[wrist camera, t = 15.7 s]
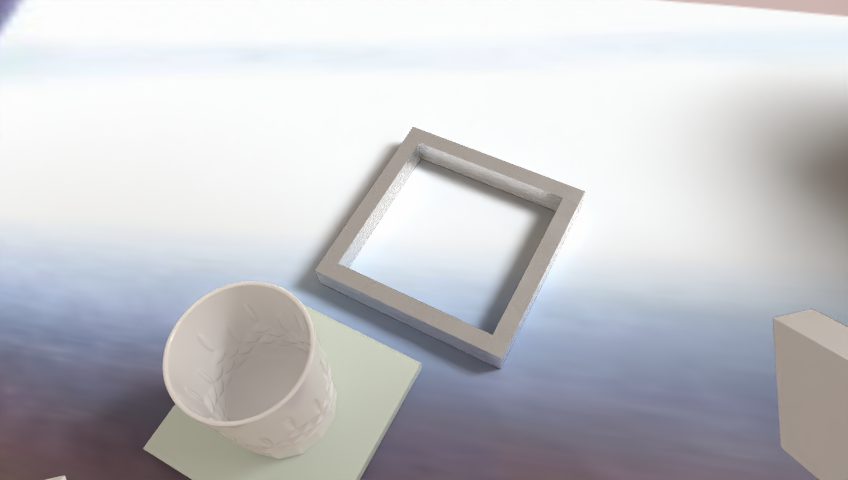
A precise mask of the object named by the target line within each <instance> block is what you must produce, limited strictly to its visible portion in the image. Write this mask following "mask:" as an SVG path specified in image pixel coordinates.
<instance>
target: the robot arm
mask: <svg viewBox="0 0 848 480" xmlns="http://www.w3.org/2000/svg"><path fill="white" fill-rule="evenodd" d="M773 329H774V345H775V361H776V376H777V392H778V408H779V424H780V440H781V448H783V449H784V450H785V451H786V452H787V453H788V454H790V455H791V456H792V457H793V458H794V459H795V460H797V461H798V462H799V463H800V464H801V465H802V466H803V467H805V468H806V469H807V470H808V471H809V472H810V473H812V474H813V475H814V476H815V477H816V478H817V479H819V480H848V327H847V326H845V325H843V324H841V323H839V322H837V321H835V320H833V319H831V318H829V317H827V316H825V315H823V314H821V313H819V312H817V311H815V310H813V309H809V310H805V311H800V312H796V313H791V314H787V315H782V316H778V317H773ZM46 480H66V477H65V475H64V476H59V477H55V478H50V479H46Z"/></svg>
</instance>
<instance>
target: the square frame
mask: <svg viewBox="0 0 848 480" xmlns="http://www.w3.org/2000/svg"><path fill="white" fill-rule="evenodd" d="M420 159H424V160H426V161H429V162H431V163H434V164H437V165H439V166H442V167H444V168H447V169H449V170H452V171H454V172H457V173H460V174H462V175H465V176H467V177H470V178H472V179H475V180H478V181H480V182H483V183H485V184H488V185H490V186H493V187H495V188H498V189H501V190H503V191H506V192H508V193H511V194H513V195H516V196H518V197H521V198H524V199H526V200H529V201H531V202H534V203H536V204H539V205H542V206H544V207H547V208H549V209H552V210H554V211H556V213H555V215H554V217H553V219H552V221H551V223H550V225H549V226H548V228H547V230H546V232H545V234H544V236H543V238H542V240H541V242H540V244H539V246H538V248H537V250H536V252H535V254H534V256H533V257H532V259H531V261H530V263H529V265H528V267H527V269H526V271H525V273H524V275H523V277H522V279H521V281H520V283H519V285H518V287H517V289H516V290H515V292H514V294H513V296H512V298H511V300H510V302H509V304H508V306H507V308H506V310H505V312H504V314H503V316H502V318H501V320H500V321H499V323H498V325H497V327H496V329H495V331H494V333H493V335H491V334H489V333H487V332H485V331H483V330H481V329H478V328H476V327H474V326H472V325H470V324H468V323H466V322H463V321H461V320H459V319H457V318H455V317H453V316H450V315H448V314H446V313H444V312H442V311H440V310H437V309H435V308H433V307H431V306H429V305H427V304H425V303H422V302H420V301H418V300H416V299H414V298H412V297H409V296H407V295H405V294H403V293H401V292H399V291H397V290H394V289H392V288H390V287H388V286H386V285H384V284H381V283H379V282H377V281H375V280H373V279H371V278H368V277H366V276H364V275H362V274H360V273H358V272H356V271H353V270H351V269H349V266H350V265H351V263H352V262H353V260H354V259H355V257H356V256H357V254H358V253H359V251H360V250H361V248H362V247H363V245H364V244H365V242H366V241H367V239H368V238H369V236H370V235H371V233H372V232H373V230H374V229H375V227H376V226H377V224H378V223H379V221H380V220H381V218H382V217H383V215H384V214H385V212H386V211H387V209H388V208H389V206H390V204H391V203H392V201H393V200H394V198H395V197H396V195H397V194H398V192H399V191H400V189H401V188H402V186H403V185H404V183H405V182H406V180H407V179H408V177H409V176H410V174H411V173H412V171H413V170H414V168H415V167H416V165H417V164H418V162H419V161H420ZM584 193H585V191H582V190H580V189H577V188H574V187H572V186H569V185H566V184H564V183H561V182H558V181H556V180H553V179H550V178H548V177H545V176H542V175H540V174H537V173H534V172H532V171H529V170H526V169H524V168H521V167H518V166H516V165H513V164H510V163H508V162H505V161H502V160H500V159H497V158H495V157H492V156H489V155H487V154H484V153H481V152H479V151H476V150H473V149H471V148H468V147H465V146H463V145H460V144H457V143H455V142H452V141H449V140H447V139H444V138H441V137H439V136H436V135H433V134H431V133H428V132H425V131H423V130H420V129H417V128H415V127H413V128H412V129H411V131H410V132H409V134H408V135H407V137H406V138H405V140H404V141H403V142H402V144H401V145H400V147H399V148H398V150H397V151H396V153H395V154H394V156H393V157H392V158H391V160H390V161H389V163H388V164H387V166H386V167H385V169H384V170H383V172H382V173H381V174H380V176H379V177H378V179H377V180H376V182H375V183H374V185H373V186H372V188H371V189H370V190H369V192H368V193H367V195H366V196H365V198H364V199H363V201H362V202H361V203H360V205H359V206H358V208H357V209H356V211H355V212H354V214H353V215H352V217H351V218H350V219H349V221H348V222H347V224H346V225H345V227H344V228H343V230H342V231H341V233H340V234H339V235H338V237H337V238H336V240H335V241H334V243H333V244H332V246H331V247H330V249H329V250H328V251H327V253H326V254H325V256H324V257H323V259H322V260H321V262H320V263H319V265H318V266H317V267H316V269H315V272H316V274H317V277H318V279H319V281H320V283H321V284H323V285H326V286H328V287H330V288H332V289H334V290H336V291H338V292H340V293H342V294H344V295H346V296H349V297H351V298H353V299H355V300H357V301H359V302H361V303H363V304H365V305H367V306H369V307H371V308H374V309H376V310H378V311H380V312H382V313H384V314H386V315H388V316H390V317H392V318H394V319H397V320H399V321H401V322H403V323H405V324H407V325H409V326H411V327H413V328H415V329H417V330H420V331H422V332H424V333H426V334H428V335H430V336H432V337H434V338H436V339H438V340H440V341H442V342H445V343H447V344H449V345H451V346H453V347H455V348H457V349H459V350H461V351H463V352H465V353H468V354H470V355H472V356H474V357H476V358H478V359H480V360H482V361H484V362H486V363H488V364H491V365H493V366H495V367H497V368H499V369H501V367H502V365H503V363H504V361H505V359H506V357H507V355H508V353H509V351H510V349H511V347H512V345H513V343H514V341H515V339H516V337H517V335H518V333H519V331H520V329H521V327H522V325H523V323H524V321H525V319H526V317H527V315H528V313H529V311H530V309H531V307H532V305H533V303H534V301H535V299H536V297H537V295H538V293H539V291H540V289H541V287H542V285H543V282H544V280H545V278H546V276H547V274H548V272H549V270H550V268H551V266H552V264H553V262H554V260H555V258H556V256H557V254H558V252H559V250H560V248H561V246H562V244H563V242H564V240H565V238H566V236H567V234H568V232H569V230H570V228H571V226H572V224H573V222H574V220H575V218H576V216H577V214H578V212H579V210H580V208H581V205H582V201H583V197H584Z"/></svg>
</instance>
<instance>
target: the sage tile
mask: <svg viewBox="0 0 848 480" xmlns="http://www.w3.org/2000/svg"><path fill="white" fill-rule="evenodd" d="M304 307H305V308H306V310H307V311H308V313H309V315H310V318H311V320H312V323H313V325H314V328H315V330H316V333H317V335H318V338H319V340H320V343H321V345H322V348H323V350H324V353H325V355H326V357H327V360H328V364H329V367H330V369H331V374H332V380H333V383H334V386H335V388H336V391H337V404H336V415H335V419H334V420H333V422H332V424H331V425H330V427H329V429H328V431H327V432H326V434H325V436H324V438H323V439H322V440H321V441H319V442H318V443H317V444H315V445H314V446H313V447H311V448H310V449H308V450H307V451H306V452H304V453H303V454H300V455H296V456H291V457H286V458H282V459H275V458H271V457H267V456H264V455H260V454H256V453H254V452H252V451H251V450H249V449H246V448H244V447H242V446H240V445H238V444H236V443H234V442H233V441H230V440H228V439H226V438H225V437H223V436H221V435H220V434H218V433H216V432H215V431H213V430H211V429H210V428H208V427H206V426H205V425H203V424H202V423H200V422H198V421H196V420H195V419H193V418H191V417H190V416H188V415H187V414H185V413H184V412H183V411H182V410H181V409H180V408H179V407H178V406H177V405H176V404H175V405H174V406H173V408H172V409H171V411H170V412H169V413H168V415H167V416H166V417H165V419H164V420H163V422H162V423H161V424H160V426H159V427H158V429H157V430H156V431H155V433H154V434H153V435H152V437H151V438H150V440H149V441H148V442H147V444H146V445H145V447H144V448H143V449H144V450H146V451H147V452H149V453H150V454H152V455H154V456H155V457H157V458H158V459H160V460H162V461H163V462H165V463H166V464H168V465H170V466H171V467H173V468H174V469H176V470H178V471H179V472H181V473H182V474H184V475H185V476H187V477H189V478H190V479H192V480H360V479H361V477H362V475H363V473H364V471H365V470H366V468H367V466H368V464H369V462H370V461H371V459H372V457H373V455H374V453H375V452H376V450H377V448H378V446H379V444H380V443H381V441H382V439H383V437H384V435H385V434H386V432H387V430H388V428H389V426H390V425H391V423H392V421H393V419H394V417H395V416H396V414H397V412H398V410H399V408H400V407H401V405H402V403H403V401H404V400H405V398H406V396H407V394H408V392H409V391H410V389H411V387H412V385H413V383H414V382H415V380H416V378H417V376H418V374H419V373H420V371H421V369H422V365H421V363H420V362H418V361H416V360H414V359H412V358H410V357H408V356H406V355H404V354H402V353H400V352H398V351H396V350H394V349H392V348H390V347H388V346H386V345H384V344H382V343H380V342H378V341H376V340H374V339H372V338H370V337H368V336H366V335H364V334H362V333H360V332H358V331H356V330H354V329H352V328H350V327H348V326H346V325H344V324H342V323H340V322H338V321H335V320H333V319H331V318H329V317H327V316H325V315H323V314H321V313H319V312H317V311H315V310H313V309H311V308H309V307H307V306H305V305H304Z"/></svg>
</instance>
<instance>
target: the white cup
mask: <svg viewBox="0 0 848 480" xmlns="http://www.w3.org/2000/svg"><path fill="white" fill-rule="evenodd" d="M163 377H164V382H165V385H166V388H167V391H168V393H169V395H170V397H171V398H172V400H173V401H174V403H175V404H176V405H177V406H178V407H179V408H180V409H181V410H182V411H183V412H184V413H185V414H187V415H188V416H190V417H191V418H193V419H195V420H196V421H198V422H200V423H202V424H203V425H205V426H206V427H208V428H210V429H211V430H213V431H215V432H216V433H218V434H220V435H221V436H223V437H225V438H226V439H228V440H230V441H233V442H234V443H236V444H238V445H240V446H242V447H244V448H246V449H249V450H251V451H252V452H254V453H256V454H260V455H264V456H267V457H271V458H275V459H282V458H286V457H291V456H296V455H300V454H303V453H304V452H306V451H307V450H308V449H310V448H311V447H313V446H314V445H315V444H317V443H318V442H319V441H321V440H322V439H323V438H324V436H325V434H326V432H327V431H328V429H329V427H330V425H331V424H332V422H333V420H334V419H335V415H336V404H337V391H336V388H335V386H334V383H333V380H332V374H331V369H330V367H329V364H328V360H327V357H326V355H325V353H324V350H323V348H322V345H321V343H320V340H319V338H318V335H317V333H316V330H315V328H314V325H313V323H312V320H311V318H310V315H309V313H308V311H307V310H306V308H305V307H304V305H303V304H302V303H301V302H300V301H299V300H298V299H297V298H296V297H295V296H294V295H293V294H292V293H290V292H289V291H287V290H285V289H284V288H282V287H279V286H277V285H274V284H271V283H267V282H260V281H243V282H236V283H232V284H228V285H225V286H222V287H219V288H217V289H215V290H213V291H211V292H209V293H207V294H206V295H204V296H203V297H201V298H200V299H198V300H197V301H196V302H195V303H193V304H192V305H191V306H190V307H189V308H188V309H187V310H186V311H185V312H184V313H183V315H182V316H181V317H180V318H179V320H178V321H177V322H176V324H175V326H174V327H173V329H172V331H171V333H170V335H169V337H168V340H167V343H166V346H165V350H164V355H163Z"/></svg>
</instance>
